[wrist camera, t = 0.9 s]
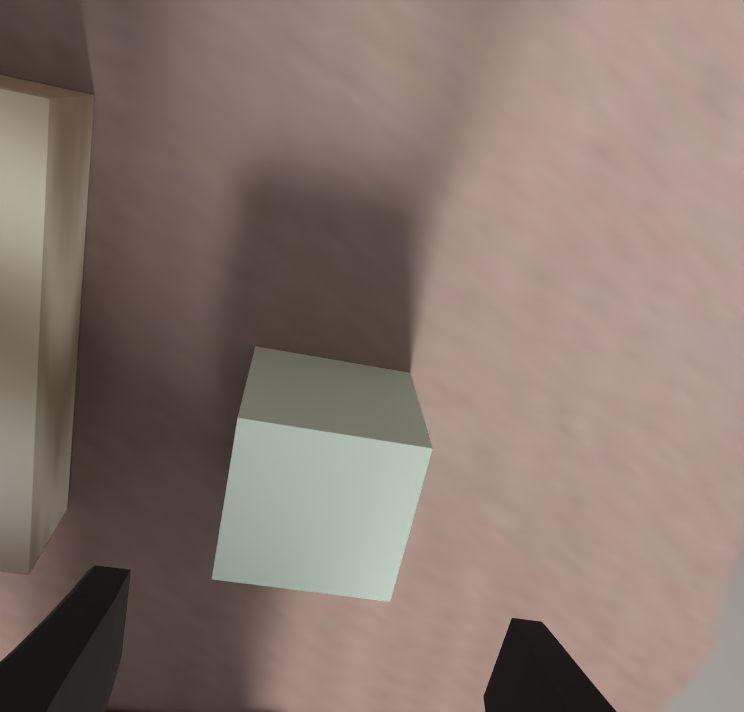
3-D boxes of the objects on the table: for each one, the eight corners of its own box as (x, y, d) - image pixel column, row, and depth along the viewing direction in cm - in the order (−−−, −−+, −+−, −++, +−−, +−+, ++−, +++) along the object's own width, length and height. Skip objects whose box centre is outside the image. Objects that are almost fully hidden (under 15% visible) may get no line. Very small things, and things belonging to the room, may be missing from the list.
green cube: (377, 501, 22) (390, 601, 18) (233, 480, 21) (211, 579, 17) (410, 371, 20) (432, 448, 16) (255, 345, 20) (237, 417, 16)
